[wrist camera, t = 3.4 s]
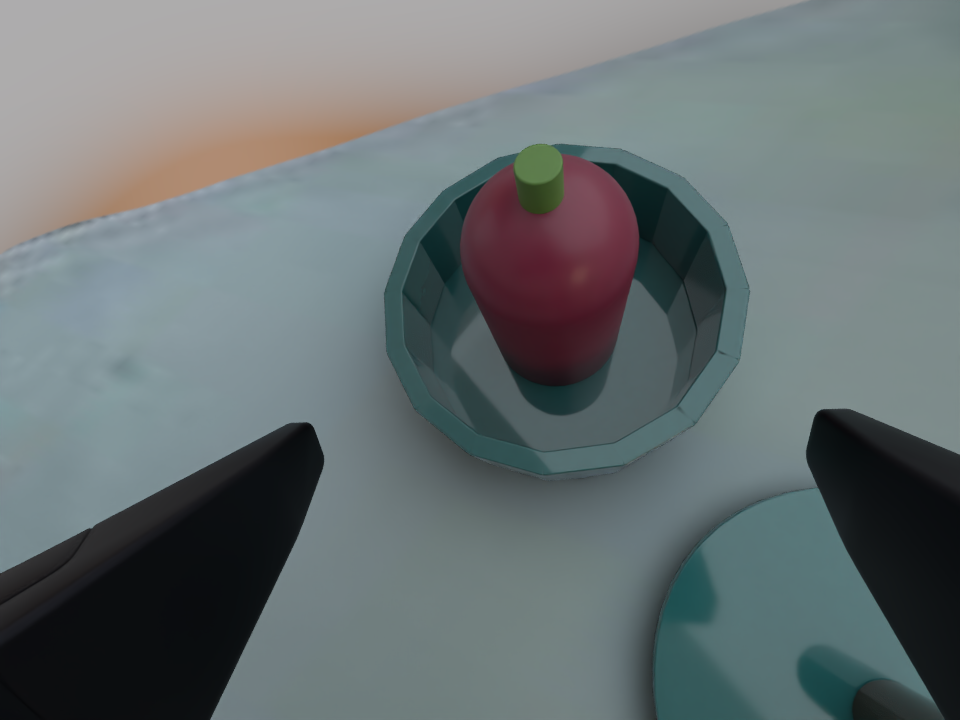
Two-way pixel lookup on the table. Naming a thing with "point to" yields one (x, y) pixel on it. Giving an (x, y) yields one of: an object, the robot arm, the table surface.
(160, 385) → the table surface
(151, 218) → the table surface
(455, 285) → the pot
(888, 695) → the pot lid
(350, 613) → the table surface
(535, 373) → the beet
